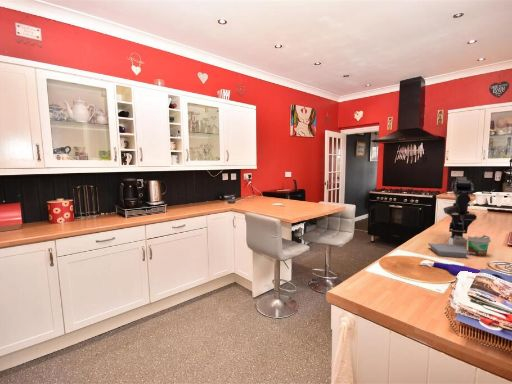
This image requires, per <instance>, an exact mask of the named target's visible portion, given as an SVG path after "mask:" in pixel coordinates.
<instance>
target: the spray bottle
mask: <svg viewBox="0 0 512 384" xmlns="http://www.w3.org/2000/svg"><path fill="white" fill-rule="evenodd" d="M419 265H420V266H428V267H430V268H433V267H434V268H437V269H438V268H439V269H441V268H442V270H445V269H446V270H445V271H447V272H448V273H449V272H450V273H449V274H451V275H452V274H453V276H454V275H457V274H458V273H459V272H460V271H468V272H472V273H479V272H480V270H481V269H479V268H472V267H469V266H465V265H460V264H454V263H445V262H444V263H443V262H434V261H431V260H429V259H424V260H422V261H420V263H419Z"/></svg>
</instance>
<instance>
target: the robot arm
mask: <svg viewBox="0 0 512 384" xmlns="http://www.w3.org/2000/svg"><path fill="white" fill-rule="evenodd" d="M451 190H452V193H453V195H454V196H455V202H453V203H452V205H449V206H446V207H443V208H442V210H443V212H444V214H445V215H448V216H450V217H451V220H450V221H449V227H448V232H450V233H451V234H450V235H451V236H450V237H455V235H458V236H461V237H463V235H466V234H468V231H469V230H468V229H469V226H470V225H471V224H472V223H473V222H474V221H476V220H477V215H476V214H475V213H472V212H471V213H470V211H468V210H469V209H468V208H469V207H471V204H469V203H470V201H471V196H470V194H473V192H474V183H473V182H472V180H468V177H467V176H461V175H460V176H459V175H458V176H456V178H455V179H453V180H452V183H451ZM463 238H464V237H463ZM448 241H449V238H448Z"/></svg>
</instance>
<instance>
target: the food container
mask: <svg viewBox="0 0 512 384" xmlns="http://www.w3.org/2000/svg"><path fill="white" fill-rule="evenodd" d="M491 242H492V241H491V237H490V236H488V235H486V234H483V235H482V236H468V237H467V248H468V249H467V252H469V253H470V255H469V256H475V257H487V254H488V249H489V245H490V243H491Z"/></svg>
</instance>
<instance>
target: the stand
mask: <svg viewBox="0 0 512 384" xmlns="http://www.w3.org/2000/svg"><path fill="white" fill-rule="evenodd" d="M428 246H429V247H430V250H432V251H433V252H434V253H435V254H437V255H438V256H439V257H451V258H461V259H462V258H463V259H464V258H465V259H466V258H467V256H471V255H470V253H469V252H468V250H464V249H462V248H460V247H458V246H457V245H448V244H447V243H446V244H445V243H430V242H428Z"/></svg>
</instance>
